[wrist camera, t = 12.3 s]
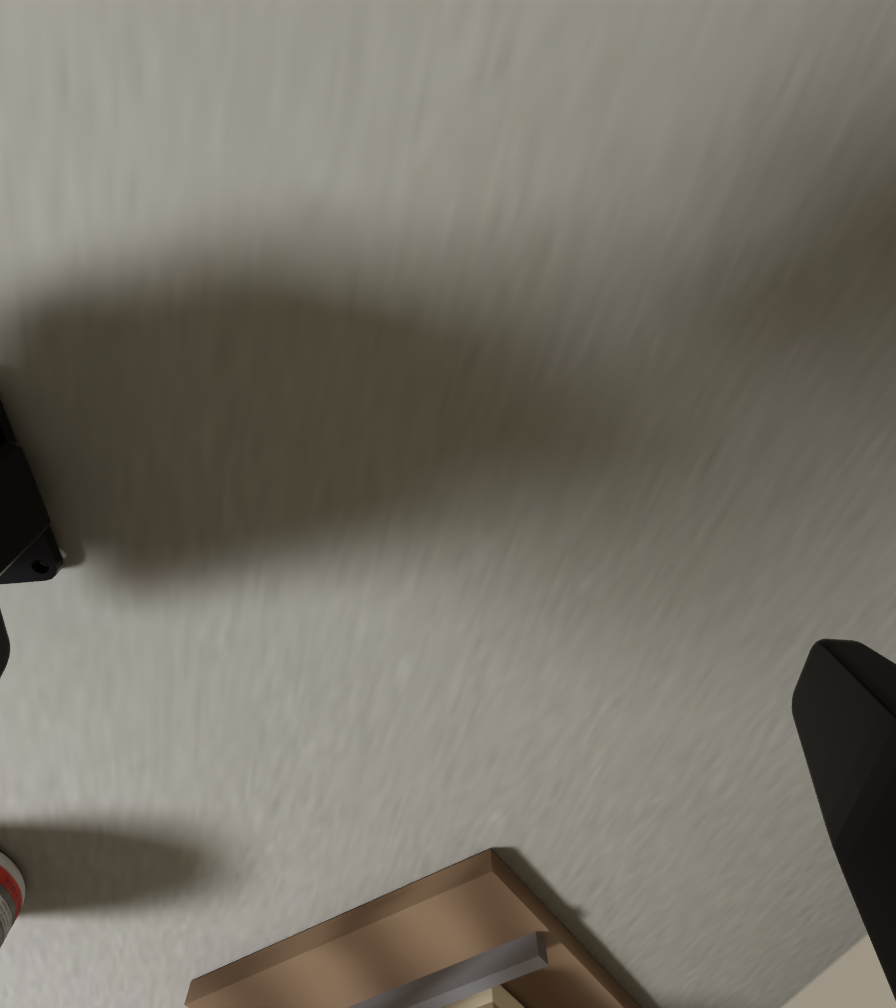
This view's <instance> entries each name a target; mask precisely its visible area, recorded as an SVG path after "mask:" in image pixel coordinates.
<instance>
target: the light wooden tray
mask: <svg viewBox="0 0 896 1008" xmlns="http://www.w3.org/2000/svg"><path fill="white" fill-rule="evenodd" d="M441 1008H524V1007H523V1006H522V1005H521V1004H520V1003H519V1002H518V1001H517V1000H516V999H515V998H514V997H513V996H511V995H510V994H509V993H508V992H507V991H506V990H505V989H504V988H503V987H502V986H501V985H497V986H495V987H492V988H490V989H487V990H484V991H482V992H479V993H477V994H474V995H472V996H469V997H466V998H464V999H461V1000H459V1001H456V1002H454V1003H451V1004H448V1005H446V1006H443V1007H441Z"/></svg>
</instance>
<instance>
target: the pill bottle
mask: <svg viewBox="0 0 896 1008" xmlns="http://www.w3.org/2000/svg"><path fill="white" fill-rule="evenodd" d="M24 899H25V884H24V880H23V877H22V875H21V873H20V871H19V870H18V868H17V867H16V866H15V865H14V863H13V862H12V861H11V860H10V859H9V858H8V857H7V856H5V855H4V854H3V853H1V852H0V947H1V945H2V944H3V942H4V940H5V938H6V936H7V934H8V932H9V930H10V929H11V927H12V925H13V924H14V922H15V920H16V918H17V916H18V914H19V912H20V910H21V908H22V906H23V903H24Z"/></svg>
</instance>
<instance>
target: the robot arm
mask: <svg viewBox="0 0 896 1008" xmlns="http://www.w3.org/2000/svg"><path fill="white" fill-rule="evenodd" d="M49 524H50V518H49V516H48V513H47V511H46V508H45V506H44V503H43V500H42V498H41V495H40V493H39V490H38V488H37V485H36V482H35V480H34V477H33V475H32V472H31V470H30V467H29V464H28V462H27V459H26V457H25V454H24V452H23V449H22V448H21V447H20V446H19V445H18V444H17V441H16V439H15V436H14V433H13V431H12V428H11V426H10V423H9V421H8V418H7V416H6V413H5V410H4V408H3V405H2V403H1V400H0V584H10V583H22V582H34V581H46V580H49V579H52V578H53V577H54V576H56V574H57V573H58V572H59V571H60V570H61V569H62V566H63V559H62V556H61V554H60V551H59V548H58V546H57V543H56V541H55V538H54V536H53V533H52V531H51V528H50V525H49ZM38 560H43V561H44V562H46V563H47V565H48V566H49V567H46V566H43V565H42V564H40V562H39V561H38ZM9 655H10V641H9V637H8V634H7V630H6V627H5V623H4V620H3V617H2V613H1V610H0V678H1V676H2V674H3V672H4V670H5V668H6V665H7V663H8V659H9ZM792 713H793V718H794V721H795V725H796V728H797V731H798V735H799V738H800V741H801V745H802V748H803V752H804V755H805V758H806V762H807V765H808V768H809V772H810V775H811V778H812V782H813V785H814V788H815V792H816V795H817V798H818V802H819V805H820V809H821V812H822V815H823V819H824V822H825V825H826V828H827V831H828V834H829V837H830V840H831V843H832V846H833V849H834V851H835V854H836V857H837V859H838V862H839V864H840V867H841V869H842V872H843V874H844V877H845V879H846V882H847V884H848V886H849V889H850V891H851V894H852V896H853V898H854V901H855V903H856V906H857V908H858V911H859V913H860V915H861V918H862V920H863V923H864V925H865V927H866V930H867V932H868V935H869V937H870V940H871V942H872V944H873V947H874V949H875V951H876V954H877V956H878V959H879V961H880V964H881V966H882V968H883V971H884V973H885V976H886V978H887V981H888V983H889V985H890V988H891V990H892V992H893V995H894V997H895V1000H896V664H895V663H893V662H892V661H890V660H888V659H887V658H885V657H883V656H882V655H880V654H878V653H877V652H875V651H874V650H872V649H870V648H869V647H867V646H865V645H864V644H862V643H860V642H857V641H853V640H838V639H821V640H819V641H817V642H816V643H815V644H814V645H813V646H812V648H811V650H810V652H809V655H808V657H807V660H806V662H805V665H804V667H803V670H802V672H801V675H800V677H799V680H798V682H797V685H796V687H795V690H794V693H793V697H792Z"/></svg>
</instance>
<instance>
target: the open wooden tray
mask: <svg viewBox="0 0 896 1008" xmlns="http://www.w3.org/2000/svg"><path fill="white" fill-rule="evenodd" d="M497 985H501V986H502V987H503V988H504V989H505V990H506V991H507V992H508V993H509V994H510V995H511V996H513V997H514V998H515V999H516V1000H517V1001H518V1002H519V1003H520V1004H521V1005H522V1006H523V1007H524V1008H640V1007H639V1006H638V1005H637V1004H636V1003H635V1001H634V1000H633V999H632V998H631V997H630V996H629V995H628V994H627V993H626V992H625V991H624V990H623V989H622V988H621V987H620V986H619V985H618V983H617V982H616V981H615V980H614V979H613V978H612V977H611V976H610V975H609V974H608V973H607V972H606V971H605V970H604V969H603V968H602V966H601V965H600V964H599V963H598V962H597V961H596V960H595V959H594V958H593V957H592V956H591V955H590V954H589V953H588V952H587V951H586V949H585V948H584V947H583V946H582V945H581V944H580V943H579V942H578V941H577V940H576V939H575V938H574V937H573V936H572V935H571V934H570V932H569V931H568V930H567V929H566V928H565V927H564V926H563V925H562V924H561V923H560V922H559V921H558V920H557V919H556V918H555V917H554V915H553V914H552V913H551V912H550V911H549V910H548V909H547V908H546V907H545V906H544V905H543V904H542V903H541V902H540V901H539V900H538V899H537V897H536V896H535V895H534V894H533V893H532V892H531V891H530V890H529V889H528V888H527V887H526V886H525V885H524V884H523V883H522V882H521V880H520V879H519V878H518V877H517V876H516V875H515V874H514V873H513V872H512V871H511V870H510V869H509V868H508V867H507V866H506V865H505V863H504V862H503V861H502V860H501V859H500V858H499V857H498V856H497V855H496V854H495V853H494V852H493V851H492V850H491V849H488V850H486V851H484V852H482V853H479V854H477V855H475V856H473V857H470V858H468V859H466V860H464V861H461V862H459V863H457V864H455V865H452V866H450V867H448V868H446V869H443V870H441V871H439V872H436V873H434V874H432V875H430V876H427V877H425V878H423V879H421V880H418V881H416V882H414V883H412V884H409V885H407V886H405V887H403V888H400V889H398V890H396V891H394V892H391V893H389V894H387V895H385V896H382V897H380V898H378V899H376V900H373V901H371V902H369V903H366V904H364V905H362V906H360V907H357V908H355V909H353V910H351V911H348V912H346V913H344V914H342V915H339V916H337V917H335V918H333V919H330V920H328V921H326V922H324V923H321V924H319V925H317V926H315V927H312V928H310V929H308V930H306V931H303V932H301V933H299V934H296V935H294V936H292V937H290V938H287V939H285V940H283V941H281V942H278V943H276V944H274V945H272V946H269V947H267V948H265V949H263V950H260V951H258V952H256V953H254V954H251V955H249V956H247V957H245V958H242V959H240V960H238V961H236V962H233V963H231V964H229V965H226V966H224V967H222V968H220V969H217V970H215V971H213V972H211V973H208V974H206V975H204V976H202V977H199V978H197V979H195V980H193V981H191V984H190V987H189V991H188V994H187V998H186V1001H185V1006H187V1007H188V1008H441V1007H443V1006H446V1005H448V1004H451V1003H454V1002H456V1001H459V1000H461V999H464V998H466V997H469V996H472V995H474V994H477V993H479V992H482V991H484V990H487V989H490V988H492V987H495V986H497Z"/></svg>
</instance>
